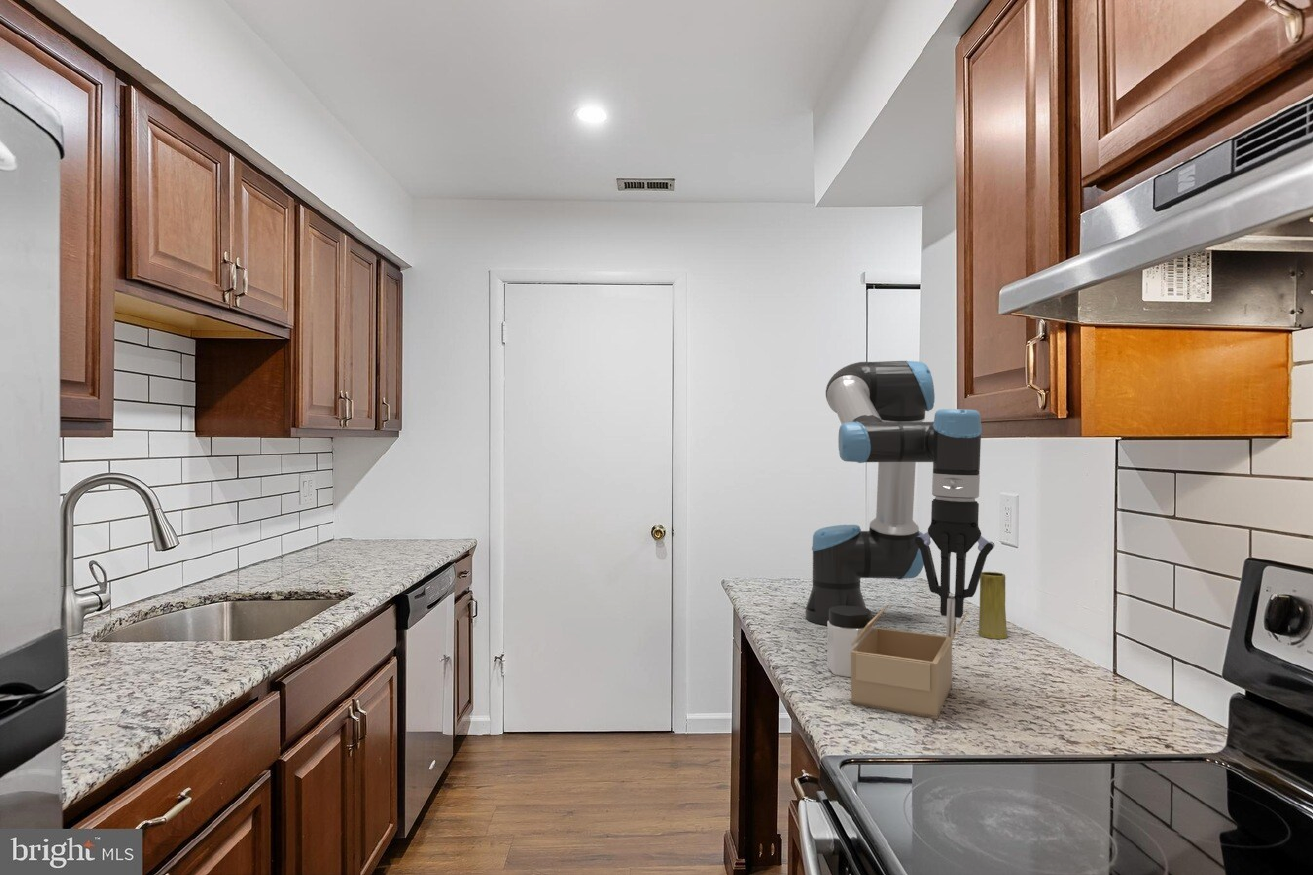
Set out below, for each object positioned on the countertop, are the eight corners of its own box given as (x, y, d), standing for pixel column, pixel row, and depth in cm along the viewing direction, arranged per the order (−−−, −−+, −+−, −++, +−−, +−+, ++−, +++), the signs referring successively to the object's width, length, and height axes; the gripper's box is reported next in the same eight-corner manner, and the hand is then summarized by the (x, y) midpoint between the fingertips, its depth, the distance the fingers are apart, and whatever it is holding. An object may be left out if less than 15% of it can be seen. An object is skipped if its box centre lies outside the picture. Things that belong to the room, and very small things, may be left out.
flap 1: (873, 624, 141) (872, 623, 141) (888, 605, 139) (887, 604, 139) (852, 646, 127) (850, 644, 127) (868, 625, 125) (867, 623, 125)
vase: (1004, 640, 164) (1004, 577, 164) (975, 636, 167) (975, 574, 167) (1009, 634, 169) (1009, 573, 169) (981, 630, 172) (981, 570, 172)
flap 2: (966, 611, 133) (968, 611, 132) (953, 633, 134) (955, 634, 133) (955, 632, 119) (956, 633, 118) (941, 657, 120) (942, 658, 120)
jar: (850, 681, 137) (850, 617, 137) (818, 669, 144) (818, 609, 144) (882, 672, 142) (882, 611, 142) (850, 661, 149) (849, 603, 149)
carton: (875, 673, 142) (875, 626, 142) (952, 684, 135) (952, 636, 135) (850, 704, 125) (850, 652, 125) (936, 720, 119) (936, 664, 119)
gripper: (912, 497, 126) (908, 634, 126) (993, 503, 119) (989, 646, 120) (920, 495, 132) (916, 624, 132) (997, 499, 126) (993, 636, 126)
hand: (951, 635), depth 126 cm, fingers closed
